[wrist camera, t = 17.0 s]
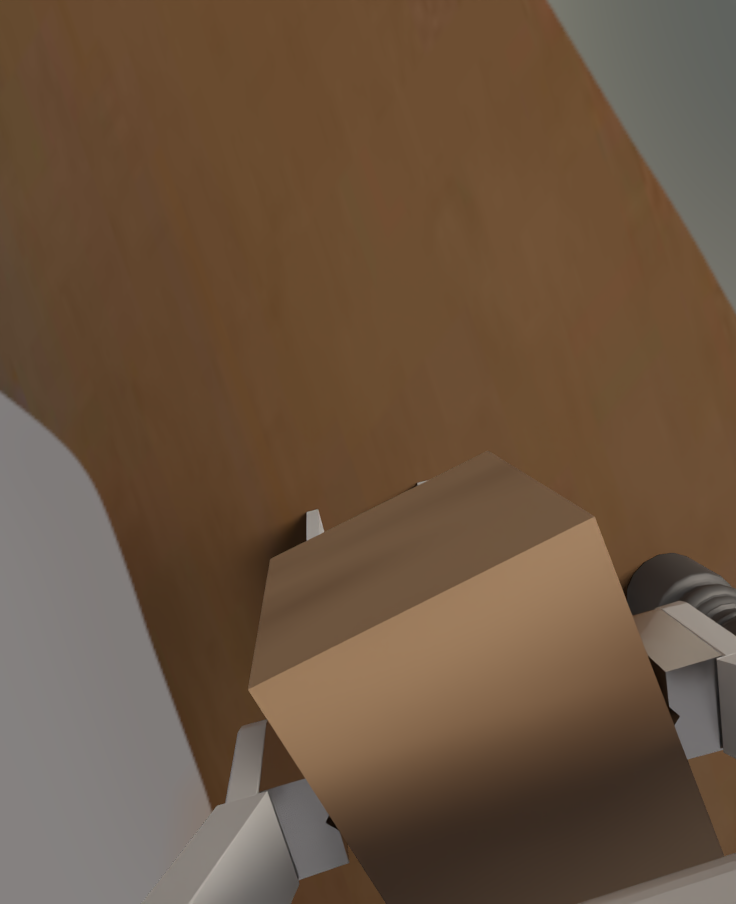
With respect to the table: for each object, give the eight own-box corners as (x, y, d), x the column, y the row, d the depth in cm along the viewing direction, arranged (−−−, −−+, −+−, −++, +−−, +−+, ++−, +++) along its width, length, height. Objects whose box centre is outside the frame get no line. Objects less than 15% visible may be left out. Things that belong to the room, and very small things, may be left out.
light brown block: (596, 704, 12) (731, 876, 8) (409, 798, 12) (457, 1015, 8) (487, 450, 10) (594, 516, 7) (270, 559, 10) (248, 689, 7)
